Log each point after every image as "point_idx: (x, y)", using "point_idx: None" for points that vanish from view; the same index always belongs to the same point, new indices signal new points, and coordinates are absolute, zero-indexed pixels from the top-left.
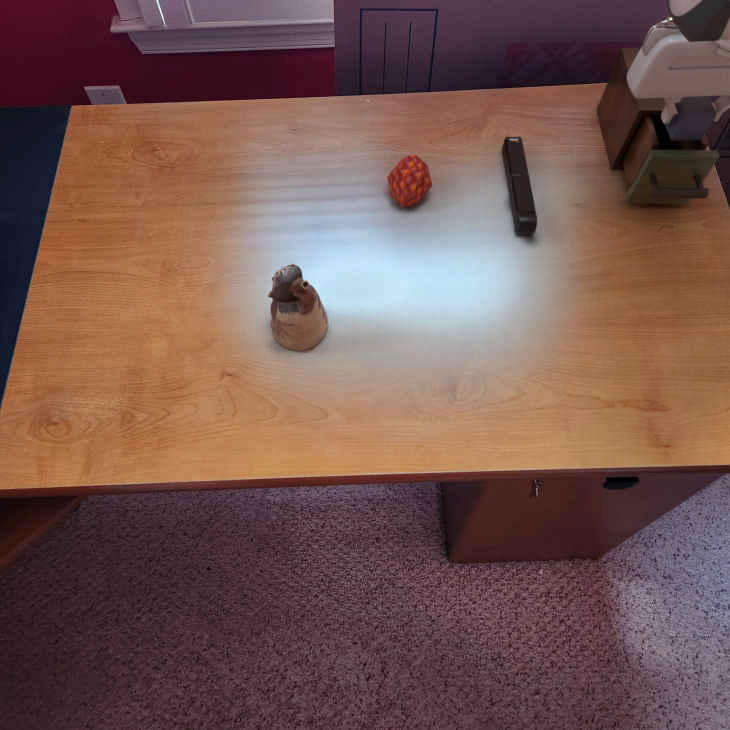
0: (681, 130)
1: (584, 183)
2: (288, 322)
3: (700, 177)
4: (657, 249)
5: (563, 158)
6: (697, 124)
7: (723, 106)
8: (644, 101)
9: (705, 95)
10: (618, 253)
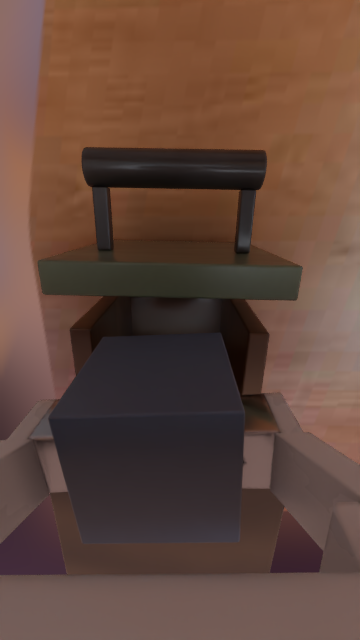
0: (208, 355)
1: (307, 311)
2: None
3: (97, 234)
4: (198, 99)
5: (326, 375)
6: (143, 374)
7: (3, 469)
8: (261, 498)
9: (187, 591)
10: (301, 82)
